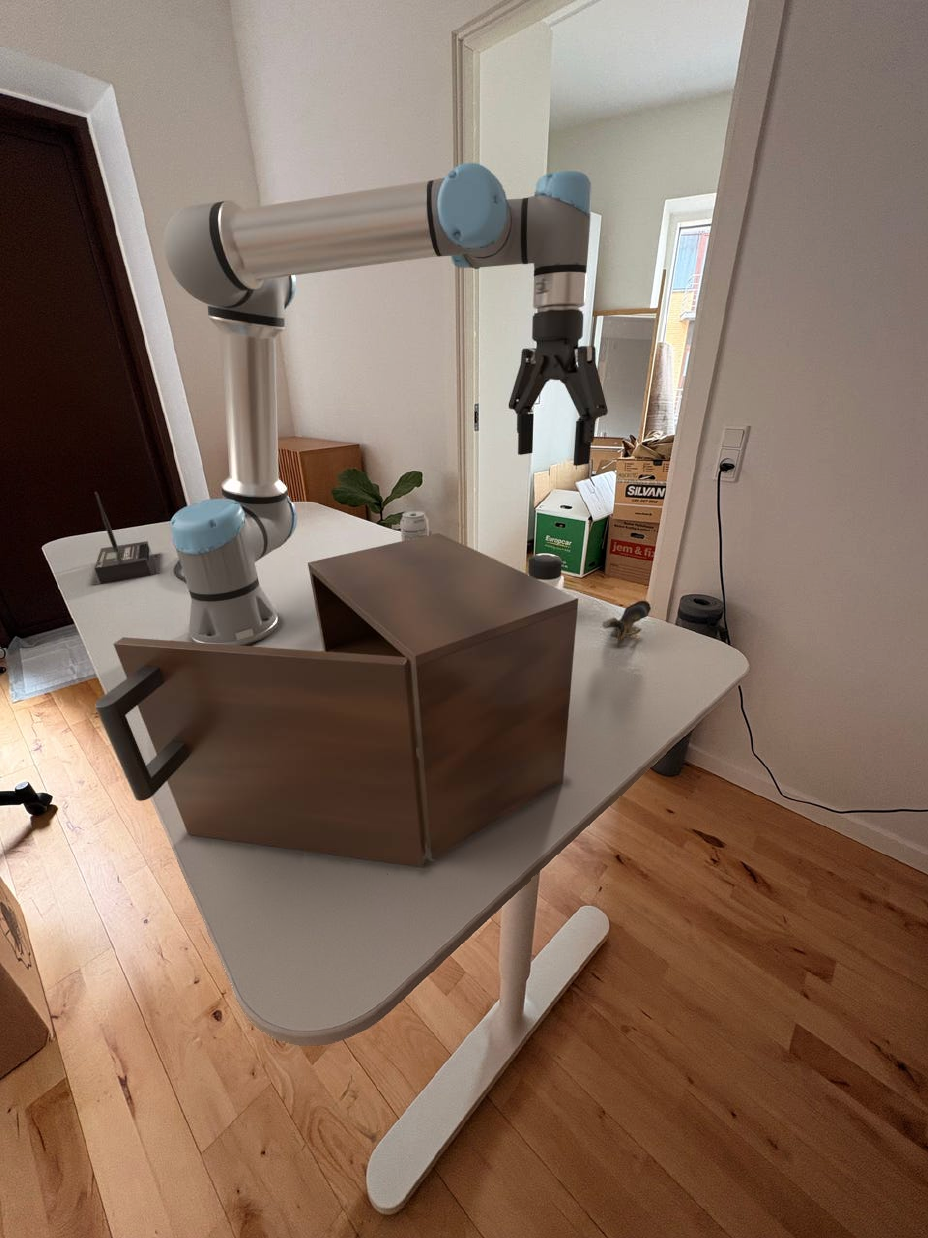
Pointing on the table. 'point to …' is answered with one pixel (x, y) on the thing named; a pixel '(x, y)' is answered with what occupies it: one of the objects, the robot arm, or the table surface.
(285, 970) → the table surface
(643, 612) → the grey-brown animal figure
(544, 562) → the medicine bottle
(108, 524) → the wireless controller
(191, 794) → the cupboard door
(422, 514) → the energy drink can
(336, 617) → the cupboard
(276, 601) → the table surface
